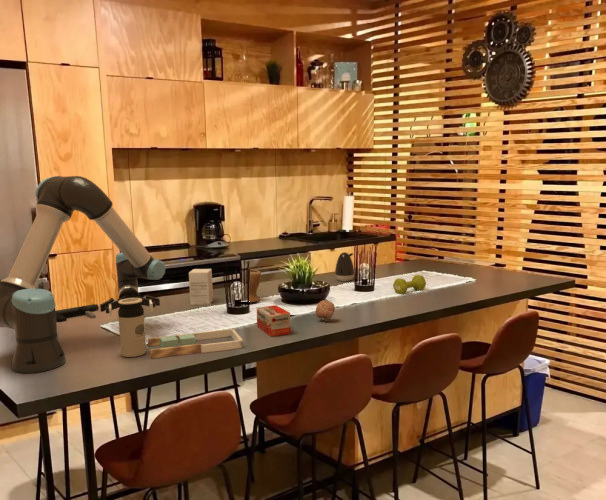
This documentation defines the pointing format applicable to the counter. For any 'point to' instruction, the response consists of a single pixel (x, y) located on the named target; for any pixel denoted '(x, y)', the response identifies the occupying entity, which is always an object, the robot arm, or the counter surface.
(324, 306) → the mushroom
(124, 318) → the travel mug
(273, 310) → the medicine box
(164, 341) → the chip
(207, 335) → the tray
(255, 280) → the brown boot
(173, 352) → the slot rails
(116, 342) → the counter surface
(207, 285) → the supplement box
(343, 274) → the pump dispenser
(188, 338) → the chip
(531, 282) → the counter surface
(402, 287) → the dumbbell
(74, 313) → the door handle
